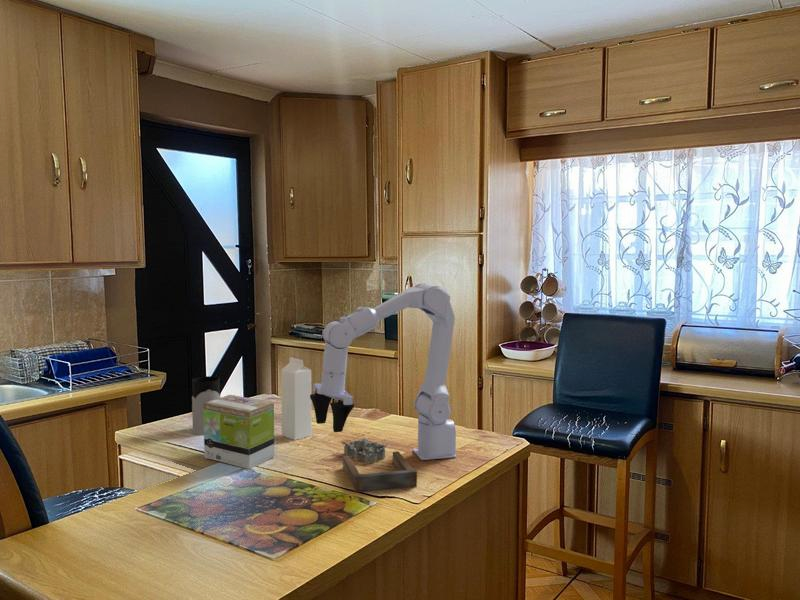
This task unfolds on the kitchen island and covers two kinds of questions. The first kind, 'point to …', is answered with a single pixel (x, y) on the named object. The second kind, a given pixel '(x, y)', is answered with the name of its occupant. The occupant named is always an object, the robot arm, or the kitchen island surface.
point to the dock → (381, 476)
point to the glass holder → (203, 399)
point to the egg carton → (365, 450)
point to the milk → (296, 400)
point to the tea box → (239, 430)
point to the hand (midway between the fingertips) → (329, 427)
